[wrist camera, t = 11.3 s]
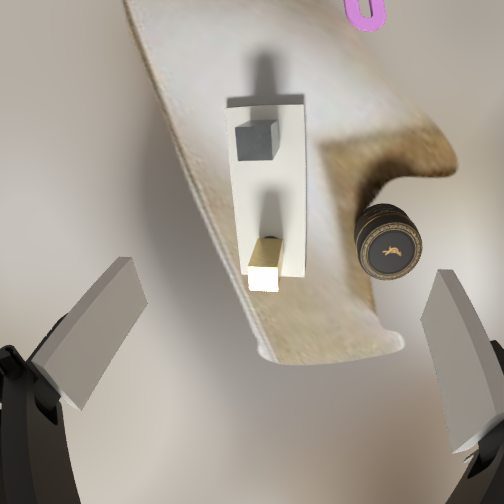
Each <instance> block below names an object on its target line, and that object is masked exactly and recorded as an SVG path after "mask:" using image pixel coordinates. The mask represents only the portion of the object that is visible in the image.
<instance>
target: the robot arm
mask: <svg viewBox="0 0 504 504" xmlns="http://www.w3.org/2000/svg"><path fill="white" fill-rule="evenodd" d="M147 304H148V303H147V300H146V298H145V295H144V292H143V290H142V286H141V283H140V281H139V278H138V275H137V272H136V269H135V266H134V262H133V259H132V258H131V257H118V258H117V259H116V261H115V262H114V263H113V264H112V265H111V266H110V267H109V268H108V269H107V270H106V271H105V272H104V273H103V274H102V276H101V277H100V278H99V279H98V280H97V281H96V282H95V283H94V284H93V285H92V286H91V288H90V289H89V290H88V291H87V292H86V293H85V294H84V296H83V297H82V298H81V299H80V300H79V301H78V303H77V304H76V305H75V306H74V307H73V308H72V309H71V311H70V312H69V313H67V314H66V315H64V316H63V317H62V318H60V319H59V320H58V321H57V323H56V324H55V325H54V326H53V328H52V330H50V331H49V333H48V334H47V336H45V337H44V339H43V340H42V341H41V343H40V344H39V345H38V346H37V348H36V349H35V350H34V352H33V353H32V354H31V356H30V357H29V358H28V360H27V361H26V362H25V361H24V360H23V358H22V357H21V356H20V354H19V353H18V352H17V350H16V349H15V348H14V346H12V345H6V346H4V347H2V348H1V349H0V403H2V410H1V409H0V504H81V502H80V498H79V495H78V492H77V488H76V484H75V480H74V476H73V471H72V467H71V462H70V458H69V452H68V447H67V441H66V435H65V428H64V420H63V412H62V406H61V403H60V402H59V399H60V397H62V398H63V399H64V400H65V401H66V402H67V403H68V404H69V405H70V406H72V407H74V408H76V409H79V410H81V411H82V409H83V407H84V406H85V404H86V402H87V400H88V399H89V397H90V395H91V394H92V392H93V390H94V389H95V387H96V385H97V383H98V382H99V380H100V378H101V377H102V375H103V373H104V371H105V370H106V368H107V367H108V365H109V363H110V362H111V360H112V359H113V357H114V355H115V354H116V352H117V351H118V349H119V347H120V346H121V344H122V343H123V341H124V339H125V338H126V336H127V335H128V333H129V332H130V330H131V328H132V327H133V325H134V324H135V322H136V321H137V319H138V318H139V316H140V315H141V313H142V312H143V310H144V308H145V307H146V306H147ZM420 320H421V323H422V326H423V328H424V332H425V335H426V338H427V342H428V345H429V349H430V352H431V356H432V359H433V363H434V366H435V371H436V375H437V379H438V383H439V387H440V392H441V396H442V401H443V406H444V411H445V416H446V422H447V428H448V434H449V441H450V448H451V454H453V453H457V452H461V451H465V450H468V449H470V448H471V447H473V446H474V445H475V444H476V443H478V445H479V449H478V450H476V451H475V452H474V453H472V454H471V455H470V456H468V457H467V458H466V459H465V460H464V462H465V463H466V462H468V461H469V460H470V459H472V460H471V462H470V463H469V465H468V467H467V469H466V471H465V473H464V474H463V476H462V478H461V480H460V481H459V483H458V485H457V486H456V488H455V489H454V491H453V493H452V494H451V496H450V498H449V499H448V500H447V502H446V503H445V504H504V349H503V348H502V347H501V345H500V344H499V343H498V342H497V341H496V340H493V341H490V340H489V338H488V336H487V334H486V332H485V329H484V327H483V325H482V323H481V321H480V319H479V317H478V315H477V313H476V311H475V309H474V307H473V305H472V303H471V301H470V300H469V298H468V296H467V294H466V292H465V290H464V288H463V287H462V285H461V283H460V281H459V280H458V278H457V276H456V274H455V273H454V271H453V270H442V269H440V270H439V269H438V270H437V274H436V277H435V280H434V283H433V286H432V289H431V292H430V295H429V298H428V301H427V303H426V306H425V309H424V312H423V314H422V317H421V319H420Z"/></svg>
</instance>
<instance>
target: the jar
mask: <svg viewBox="0 0 504 504" xmlns="http://www.w3.org/2000/svg"><path fill="white" fill-rule="evenodd" d="M354 240H355V245H356V252H357V256H358V259H359V262H360V264H361V266H362V268H363V269H364V270H365V272H366V273H368V274H369V275H370V276H372V277H374V278H376V279H380V280H393V279H397V278H400V277H402V276H404V275H406V274H407V273H409V272H410V271H411V270H412V269H413V268H414V267H415V266H416V264H417V263H418V261H419V259H420V256H421V253H422V240H421V237H420V234H419V232H418V230H417V228H416V226H415V225H414V223H413V222H412V221H411V220H410V219H409V217H408V216H407V214H406V213H405V212H404V211H403V210H401V209H400V208H398V207H396V206H394V205H391V204H377V205H373V206H371V207H369V208H368V209H366V210H365V211H364V212H363V213H362V214H361V215H360V217H359V218H358V220H357V223H356V226H355V230H354Z"/></svg>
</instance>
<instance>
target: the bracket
mask: <svg viewBox="0 0 504 504" xmlns="http://www.w3.org/2000/svg"><path fill="white" fill-rule="evenodd" d="M369 5H370V11H371V18H365V17H363V16H362V15H361V13H360V8H359V2H358V0H344V7H345V13H346V17H347V19H348V21H349V22H350V23H351V24H352V25H353V26H354V27H356V28H357V29H360V30H362V31H368V32H370V31H375V30H378V29H379V28H380V27H381V26H383V25H384V23H385V21H386V13H385V6H384V0H369Z"/></svg>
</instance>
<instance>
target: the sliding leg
mask: <svg viewBox="0 0 504 504" xmlns="http://www.w3.org/2000/svg"><path fill="white" fill-rule="evenodd" d="M282 265H283V239H269V238H257V241H256V244H255V247H254V250H253V253H252V255H251V258H250V261H249V264H248V277H249V287H250V290H259V291H278V288H279V282H280V277H281V271H282Z"/></svg>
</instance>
